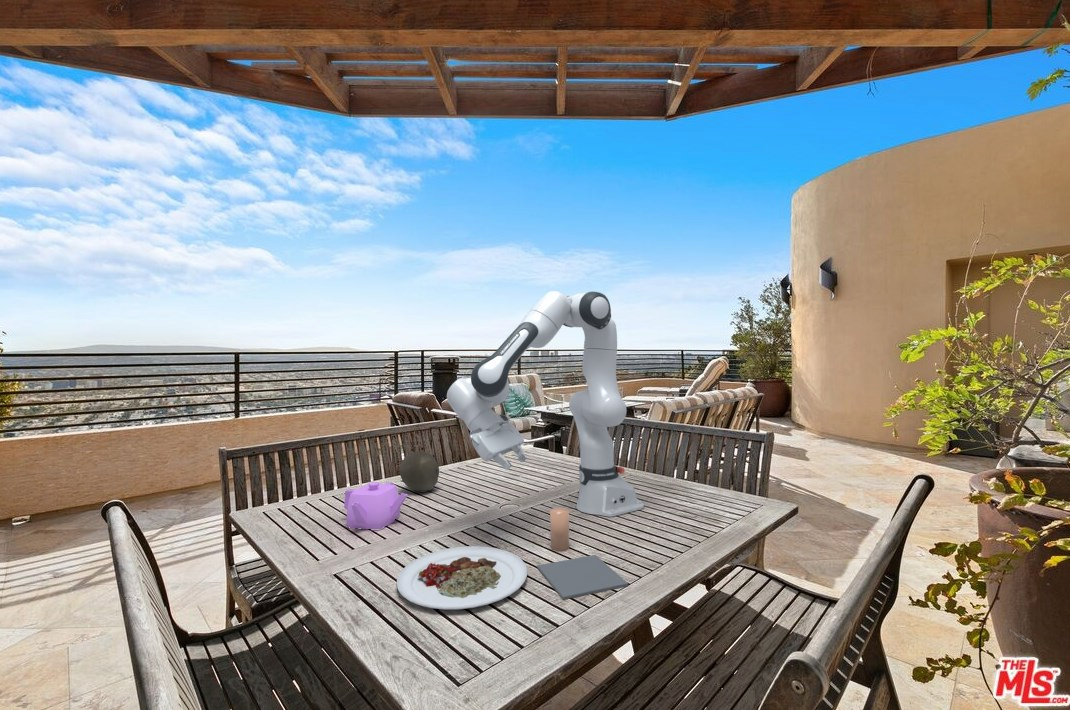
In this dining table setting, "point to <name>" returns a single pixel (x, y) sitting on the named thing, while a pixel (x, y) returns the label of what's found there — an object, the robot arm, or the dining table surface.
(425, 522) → the dining table surface
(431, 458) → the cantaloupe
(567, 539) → the tan rounded cylinder
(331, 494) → the dining table surface
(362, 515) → the teakettle
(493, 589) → the plated food
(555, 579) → the mat
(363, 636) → the dining table surface
